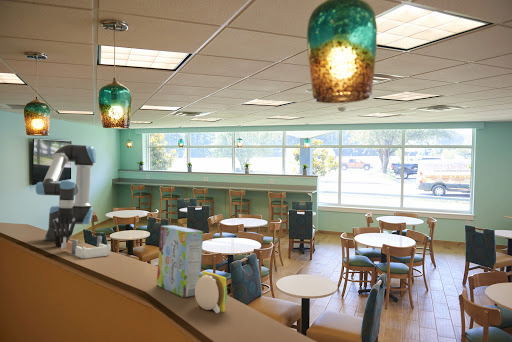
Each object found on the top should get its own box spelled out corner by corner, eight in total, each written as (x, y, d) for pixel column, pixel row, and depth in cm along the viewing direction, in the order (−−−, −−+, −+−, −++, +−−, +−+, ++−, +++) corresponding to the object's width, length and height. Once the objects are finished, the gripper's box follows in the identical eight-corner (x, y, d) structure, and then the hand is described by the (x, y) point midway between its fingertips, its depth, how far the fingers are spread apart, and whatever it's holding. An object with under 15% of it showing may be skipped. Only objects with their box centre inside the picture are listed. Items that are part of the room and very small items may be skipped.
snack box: (201, 294, 149) (204, 230, 150) (182, 298, 143) (186, 232, 144) (173, 282, 165) (176, 224, 165) (155, 285, 159) (158, 225, 159)
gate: (77, 252, 209) (78, 240, 209) (72, 253, 207) (73, 240, 207) (68, 248, 218) (69, 236, 218) (63, 249, 216) (64, 237, 216)
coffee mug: (57, 248, 223) (58, 231, 223) (50, 246, 228) (51, 229, 228) (76, 246, 232) (77, 230, 232) (69, 244, 237) (70, 228, 237)
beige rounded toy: (189, 306, 135) (191, 273, 135) (206, 301, 141) (208, 270, 142) (211, 315, 127) (213, 280, 127) (228, 310, 133) (230, 276, 134)
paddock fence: (68, 254, 209) (69, 238, 209) (98, 250, 221) (99, 235, 222) (79, 258, 198) (80, 242, 199) (110, 255, 211) (111, 239, 211)
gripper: (56, 208, 204) (53, 251, 204) (80, 207, 214) (77, 248, 213) (51, 206, 209) (48, 248, 209) (75, 206, 219) (72, 246, 218)
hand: (63, 248), depth 211 cm, fingers closed
